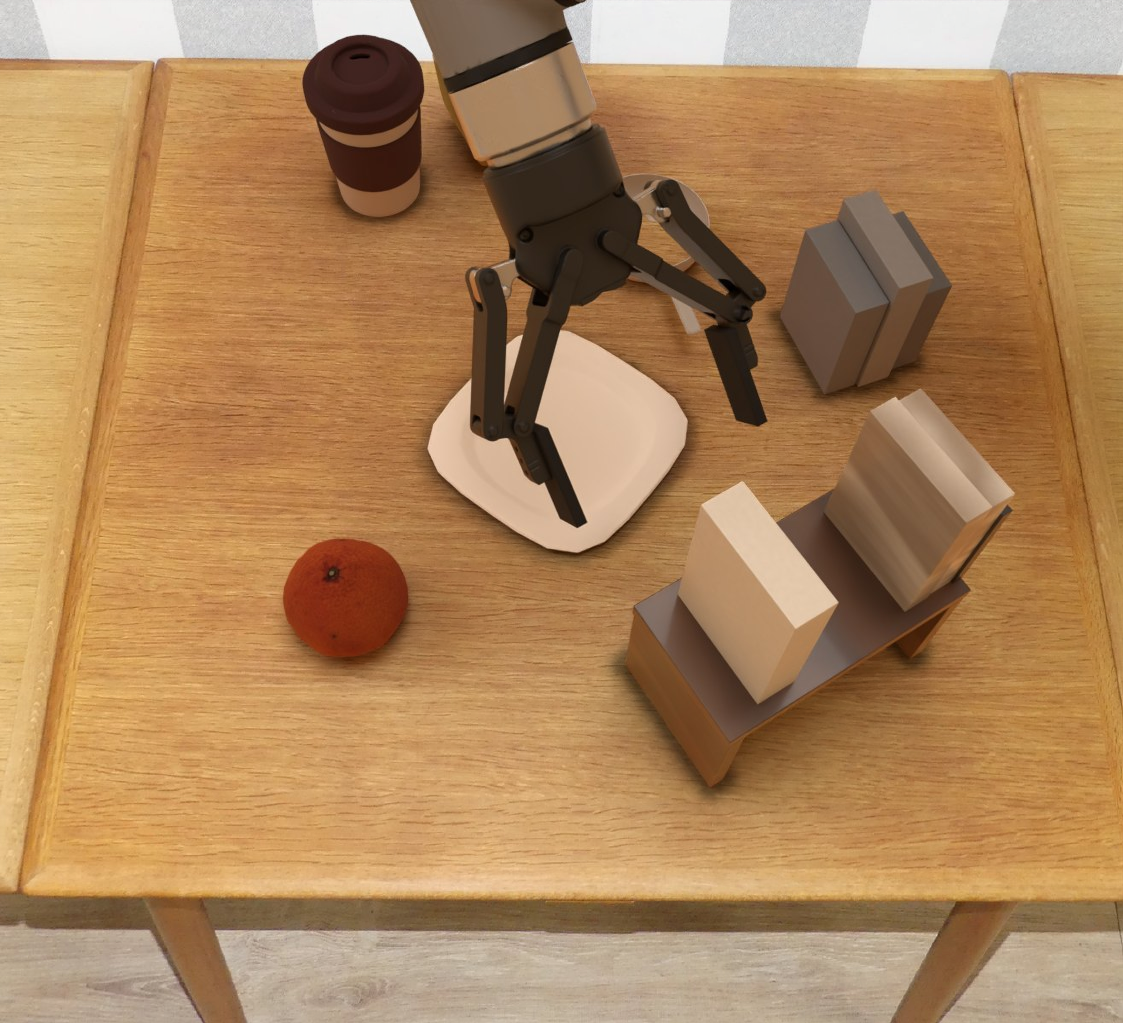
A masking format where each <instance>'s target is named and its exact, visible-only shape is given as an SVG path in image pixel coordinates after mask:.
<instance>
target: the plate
mask: <svg viewBox="0 0 1123 1023" xmlns="http://www.w3.org/2000/svg"><path fill="white" fill-rule="evenodd" d="M522 337H523V334H520V335H518V336H515V338H513V339H512V340H510V341H509V342H508V343H506V368H505V392H504V403H505V399H506V396H507V392H508V388H509V385H510V381H511V377H512V374H513V370H514V366H515V363H516V359H517V355H518V351H519V348H520V344H521V340H522ZM470 404H471V378H470V379H469V380H468V381H467V382H466V383H465V384H464V385H463V387H462V388H461V389H460V390H459V391H457V393H456V394H455V395H454V396H453V397H452V398H451V399H450V400H449V403H447V405H446V406H445V407H444V409H443V410H442V412H440V415H439V416H437V419H436V420H435V421H434V422H433V424H432V428H431V432H430V436H429V440H428V445H427V449H426V450H427V452H428V454H429V456H430V458H431V460H432V463H433V465H434V467H435V468H436V471H437V473H438V474H439V475H440V476H441V477H442V478H443V479H444V480H445V481H446V482H447V483H448V484H450V486H452V488H454V489H455V490H456V491H457V492H458V493H459V494H461V495H462V496H463V497H465V498H466V499H468V500H469V501H470V502H472V503H473V504H474V505H475V506H477V507H478V508H480V509H481V510H483V511H484V512H485V513H487V514H488V515H490V516H491V517H493V519H496V520H497V521H498V522H500V523H501V524H503V525H504V526H506V527H508V528H509V529H510V530H511V531H514V533H516V534H518V535H520V536H522V537H523V538H525V539H527V540H529V541H531V542H533V543H535V544H537V545H539V546H540V547H543V549H546V550H550V551H558V552H564V553H570V554H581V553H582V552H585V551H587V550H589V549H592V548H594V547H596V546H599V545H602V544H604V543H606V541H608V540H609V539H610V538H611V537H612V536H613V535H614V534H616V533H617V531H619V530H620V529H621V528H622V527H623V526H624V525H626V523H627V522H629V520H630V519H631V518H632V517H633V515H634V514H636V512H637V511H638V510H639V508H640V507H641V506H642V505H643V504H644V503H645V502H646V501H647V499H648V498H649V497H650V496H651V494H653V492H654V491H655V489H656V488H657V487H658V486H659V484H660V483H661V482H662V481H663V479H664V478H665V477H666V476H667V475H668V473H669V472H670V470H671V469H672V467H673V465H674V464H675V462H676V460H677V459H678V458H679V456H680V454H681V453H682V452H683V449H684V448H685V446H686V439H687V431H688V422H689V419H688V418H687V417H686V414H685V413H684V412H683V410H682V408H681V406H680V404H679V403H678V401H677V400H676V398H675V397H674V396H673V395H672V394H670V393H669V392H668V391H667V390H665V389H664V388H663V387H662V386H661V385H659V384H658V383H656V381H654V379H652V378H651V377H649V376H648V375H646V374H645V373H643V372H641V371H640V370H638V369H636V368H635V367H634V366H632V365H630V364H629V363H627V362H626V361H625V360H623V359H621V358H620V357H618V356H616V355H615V354H613V353H611V352H609V351H608V350H607V349H605V348H603V347H601V346H600V345H598V344H596V343H594V342H592V341H590V340H589V339H586V338H584V337H582V336H580V335H578V334H576V333H574V332H571V331H569V330H563V329H560V333H559V337H558V340H557V344H556V348H555V351H554V355H553V358H552V362H551V366H550V369H549V373H548V377H547V380H546V384H545V388H544V391H543V395H542V399H541V402H540V406H539V409H538V413H537V417H536V420H535V423H537V424H540V425H542V426H545V427H547V428H548V429H549V431H550V434H551V436H552V438H553V441H554V443H555V446H556V448H557V450H558V453H559V455H560V458H561V460H562V462H563V465H564V467H565V470H566V472H567V474H568V477H569V479H570V481H571V484H572V486H573V489H574V491H575V493H576V496H577V498H578V501H579V503H580V505H581V508H582V510H583V513H584V515H585V517H586V520H587V522H588V523H586V524H584V525H582V526H581V527H579V528H576V527H574V526H572V525H570V524H568V523H567V522H565V521H563V520H561V519H560V518H559V516H558V513H557V511H556V509H555V506H554V504H553V502H552V499H551V497H550V495H549V492H548V490H547V488H546V485H545V483H543V484H541V485H537V484H535V483H533V482H532V481H530V480H529V479H528V478H527V477H526V476H525V475H524V473H523V471H522V468H521V466H520V464H519V461H518V459H517V457H516V455H515V452H514V450H513V448H512V445H511V443H510V441H509V439H508V438H504V439H498V440H497V441H494V442H492V441H488V440H486V439H484V438H482V437H480V436H477V435H475V434H474V433H472V431H471V429H470Z"/></svg>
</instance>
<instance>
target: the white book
mask: <svg viewBox="0 0 1123 1023" xmlns="http://www.w3.org/2000/svg"><path fill="white" fill-rule="evenodd" d="M776 522H777V521H775V520H774V518H773V517H772V516H771V514H770V513H769V512H768V511H767V509H766V508H765V507H764V505H763V504H762V503H761V501H760V500H759V499H758V498H757V497H756V495H755V494H754V493H753V491H752V490H751V489H750V488H749V487H748V485H747V483H745V482H744V480H742V481H740V482H738V483H736V484H734V485H733V486H730V487H729V488H727V489H726V490H724V491H722V492H720V493H718V494H716V495H715V496H713V497H711V498H710V499H708V500H706V501H704V502H703V503H701V504H700V506H699V510H698V514H697V518H696V522H695V526H694V530H693V532H692V533H693V534H692V536H691V537H692V538H691V541H690V545H689V549H688V553H687V558H686V561H685V564H684V570H683V571H682V572H683V573H682V577H681V578H682V580H681V584H680V588H679V592H678V596H679V597H680V598H681V600H682V601H683V602H684V604H685V605H686V607H687V608H688V609H689V611H690V612H691V613H692V615H693V616H694V618H695V619H696V620H697V622H698V623H699V625H700V626H701V627H702V629H703V630H704V631H705V633H706V634H707V636H708V637H709V638H710V640H711V641H712V642H713V644H714V645H715V647H716V648H717V649H718V651H719V652H720V653H721V655H722V656H723V658H724V659H725V660H726V662H727V663H728V664H729V666H730V667H731V669H732V670H733V671H734V673H735V674H736V675H737V677H738V678H739V680H740V681H741V682H742V684H743V685H744V687H745V688H746V689H747V691H748V692H749V693H750V695H751V696H752V698H753V699H754V700H755V702H756V703H757V704H759V703H761V702H762V701H764V700H766V699H767V698H769V697H770V696H772V695H774V694H775V693H777V692H778V691H780V690H781V689H783V688H785V687H786V686H788V685H789V684H791V683H793V682H794V681H795V679H796V678H797V676H798V674H799V672H800V671H801V669H802V667H803V665H804V663H805V662H806V660H807V658H808V656H809V655H810V653H811V651H812V649H813V647H814V646H815V644H816V642H817V640H818V639H819V637H820V635H821V633H822V631H823V630H824V628H825V626H826V624H827V623H828V621H829V619H830V617H831V615H832V614H833V612H834V610H835V608H836V606H837V605H838V603H839V602H838V601H837V600H836V598H835V597H834V596H833V595H832V593H831V592H830V591H829V590H828V588H827V587H826V586H825V584H824V583H823V582H822V581H821V579H820V578H819V577H818V576H817V574H816V573H815V572H814V570H813V569H812V568H811V567H810V565H809V564H808V563H807V562H806V560H805V559H804V558H803V556H802V555H801V554H800V553H799V551H798V550H797V549H796V548H795V546H794V545H793V544H792V543H791V541H790V540H789V539H788V537H787V536H786V535H785V534H784V532H783V531H782V530H781V529H780V527H779V526H778V525H777V523H776Z"/></svg>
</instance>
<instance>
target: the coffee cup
mask: <svg viewBox="0 0 1123 1023" xmlns="http://www.w3.org/2000/svg"><path fill="white" fill-rule="evenodd" d="M424 80H425V79H424V71H423V69H422V65H421V63H420V61H419V59H418V58H417V57H416V55H414V54H413V52H412V51H410V50H409V49H408V48H407V47H405V46H404V45H402V44H401V43H398V42H396V41H394V40H392V39H388V38H384V37H379V36H377V35H372V34H354V35H348V36H345V37H342V38H340V39H338V40H336V41H334V42H332V43H330V44H328V45H326V46H324V48H322V49H321V50H319V51H318V52H317V53H315V55H314V56H313V57H312V58H311V59H310V60H309V62H308V63H307V65H306V66H305V69H304V71H303V73H302V81H301V82H302V84H301V85H302V91H303V96H304V100H305V101H304V102H305V104H306V107H307V109H308V110H309V112H310V114H311V115H312V116H313V117H314V118H315V121H316V125H317V129H318V132H319V136H320V138H321V141H322V144H323V148H324V152H325V154H326V157H327V160H328V163H329V166H330V169H331V172H332V173H333V175H334V176H335V178H336V182H337V185H338V189H339V192H340V194H341V198H342V199H343V201H344V202H345V204H346V205H347V206H348V207H349V208H350V209H351V210H353V211H355V212H356V213H358V214H360V215H363V216H368V217H374V218H383V217H390V216H393V215H397V214H399V213H402V212H403V211H405V210H406V209H408V208H409V207H410V206H411V205H412V204H413V203H414V202H415V201H416V199H417V197H418V195H419V193H420V189H421V172H420V171H421V166H420V165H421V162H422V157H423V156H422V155H423V153H422V152H423V151H422V150H423V149H422V109H421V105H422V102H423V99H424V96H425V81H424Z"/></svg>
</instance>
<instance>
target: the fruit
mask: <svg viewBox="0 0 1123 1023" xmlns="http://www.w3.org/2000/svg"><path fill="white" fill-rule="evenodd" d="M282 605H283V610H284V614H285V617H286V620H287V622H288V624H289V625H290V627H291V629H292V630H293V632H294V633H295V635H296V636H297V638H298V639H299V640H300V641H302V642H303V643H305V644H306V645H308V646H309V647H310V648H311V649H312V650H314V651H315V652H317V653H318V654H320V655H323V656H326V657H328V658H329V657H330V658H345V657H359V656H363V655H365V654H367V653H370V652H373V651H375V650H378V649H380V648H381V647H383V646H384V645H385V644H386V643H387V642H388V641H389V640H390V639H391V637H392V636H393V634H395V633H396V631H397V630H398V628H399V626H400V624H401V622H402V620H403V619H404V617H405V615H406V612H407V609H408V606H409V587H408V583H407V579H406V575H405V574H404V572H403V569H402V568H401V566H400V564H399V562H398V561H397V559H395V557H394V556H393V555H392V554H391V553H389V551H387V550H386V549H385V548H383V547H381V546H379V545H377V544H375V543H372V542H369V541H366V540H359V539H354V538H345V537H344V538H339V537H337V538H336V537H335V538H330V539H327V540H324V541H323V540H322V541H320V542H317V543H315V544H313V545H312V546H310V547H308V548H307V549H306V551H305V552H304V553H303V554H302V555H301V556H300V557H299V558H297V560H296V561H295V564H294V565H292V567H291V569H290V571H289V573H288V575H287V578H286V581H285V583H284V586H283V592H282Z"/></svg>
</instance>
